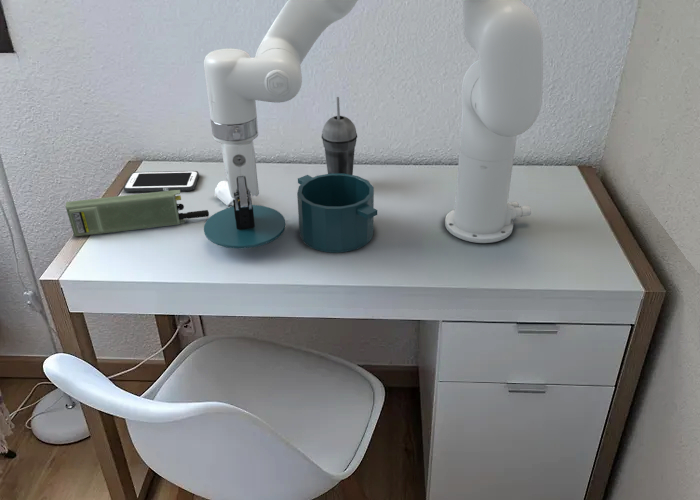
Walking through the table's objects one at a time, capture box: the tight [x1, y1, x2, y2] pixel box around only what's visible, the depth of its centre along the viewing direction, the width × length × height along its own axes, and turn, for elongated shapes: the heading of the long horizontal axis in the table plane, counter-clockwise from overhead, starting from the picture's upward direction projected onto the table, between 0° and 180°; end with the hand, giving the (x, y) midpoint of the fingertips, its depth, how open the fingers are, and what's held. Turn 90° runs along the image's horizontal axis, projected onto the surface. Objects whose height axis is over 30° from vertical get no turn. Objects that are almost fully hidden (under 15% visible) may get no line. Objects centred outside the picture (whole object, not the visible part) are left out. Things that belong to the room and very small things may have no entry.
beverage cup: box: [321, 96, 358, 175], centre depth 133 cm, size 7×7×20 cm
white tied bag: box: [213, 180, 235, 207], centre depth 131 cm, size 5×7×10 cm
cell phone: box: [123, 170, 200, 193], centre depth 140 cm, size 8×15×1 cm, turn 92°
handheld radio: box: [65, 190, 210, 237], centre depth 124 cm, size 7×3×25 cm
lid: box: [203, 200, 287, 250], centre depth 118 cm, size 15×15×6 cm
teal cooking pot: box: [296, 173, 378, 254], centre depth 120 cm, size 14×19×9 cm
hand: (244, 222), depth 118 cm, fingers closed on lid, 2 cm apart
